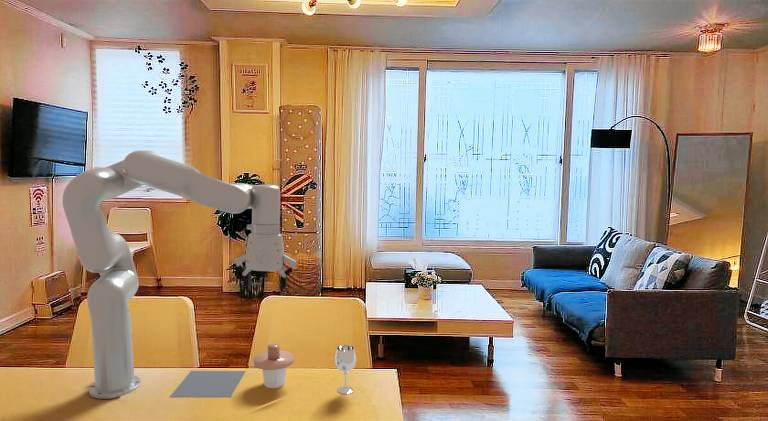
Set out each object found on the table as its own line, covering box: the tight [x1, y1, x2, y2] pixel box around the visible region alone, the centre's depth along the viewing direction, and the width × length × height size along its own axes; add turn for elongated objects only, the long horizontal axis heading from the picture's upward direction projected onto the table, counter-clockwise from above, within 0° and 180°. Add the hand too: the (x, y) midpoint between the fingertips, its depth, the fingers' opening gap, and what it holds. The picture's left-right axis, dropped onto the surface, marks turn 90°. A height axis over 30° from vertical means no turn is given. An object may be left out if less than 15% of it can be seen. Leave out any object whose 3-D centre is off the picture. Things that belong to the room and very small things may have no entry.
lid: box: [252, 343, 295, 371], centre depth 144 cm, size 11×11×4 cm
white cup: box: [261, 367, 287, 389], centre depth 145 cm, size 7×7×7 cm
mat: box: [169, 370, 246, 398], centre depth 145 cm, size 16×16×1 cm
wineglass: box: [334, 344, 357, 395], centre depth 142 cm, size 6×6×12 cm
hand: (265, 289), depth 146 cm, fingers open, 9 cm apart
